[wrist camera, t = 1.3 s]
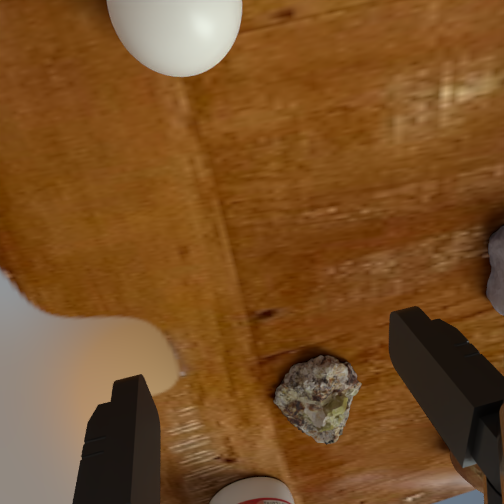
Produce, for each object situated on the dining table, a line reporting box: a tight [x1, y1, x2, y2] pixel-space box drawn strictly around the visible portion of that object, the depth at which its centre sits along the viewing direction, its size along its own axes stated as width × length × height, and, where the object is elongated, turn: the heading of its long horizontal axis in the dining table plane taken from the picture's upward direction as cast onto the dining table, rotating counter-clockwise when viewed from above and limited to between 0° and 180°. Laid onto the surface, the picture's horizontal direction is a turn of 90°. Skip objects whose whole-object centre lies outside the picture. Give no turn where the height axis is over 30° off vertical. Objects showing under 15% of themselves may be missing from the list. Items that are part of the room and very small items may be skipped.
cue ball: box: [107, 0, 242, 77], centre depth 18 cm, size 6×6×6 cm
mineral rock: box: [274, 355, 362, 444], centre depth 37 cm, size 11×4×8 cm
